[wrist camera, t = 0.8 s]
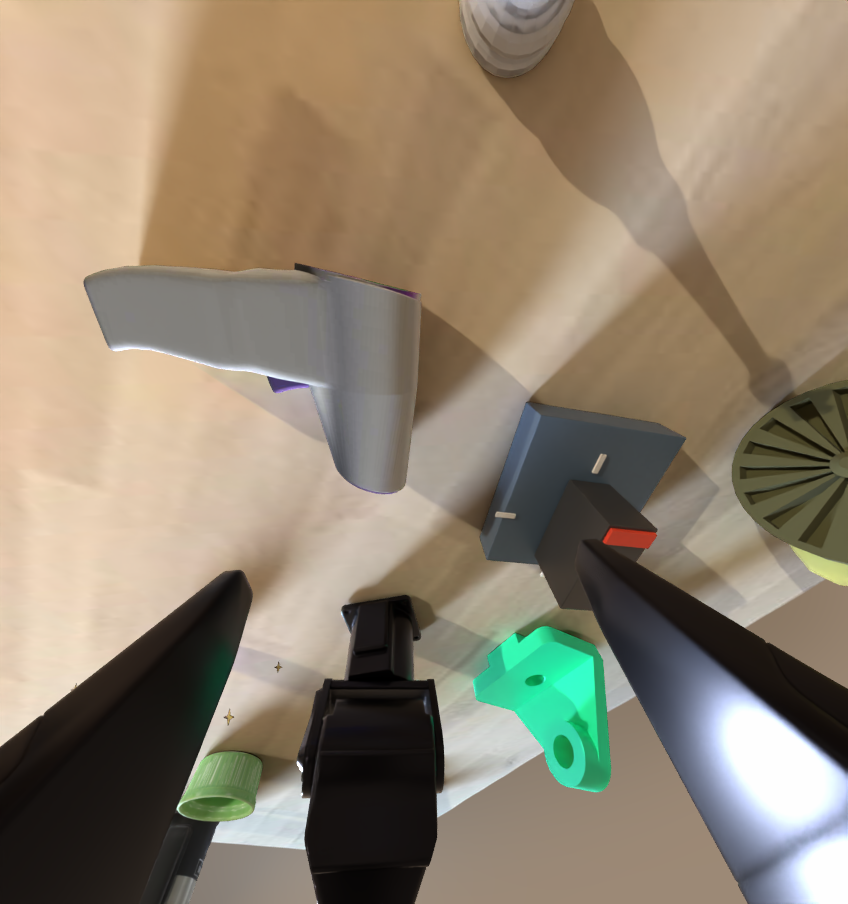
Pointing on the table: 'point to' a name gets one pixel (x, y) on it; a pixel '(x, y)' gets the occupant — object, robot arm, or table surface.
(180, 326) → the infrared thermometer
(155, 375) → the table surface
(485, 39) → the chess piece
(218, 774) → the ramekin
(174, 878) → the milk frother
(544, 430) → the base
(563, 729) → the camera mount
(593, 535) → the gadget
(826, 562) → the cannon
